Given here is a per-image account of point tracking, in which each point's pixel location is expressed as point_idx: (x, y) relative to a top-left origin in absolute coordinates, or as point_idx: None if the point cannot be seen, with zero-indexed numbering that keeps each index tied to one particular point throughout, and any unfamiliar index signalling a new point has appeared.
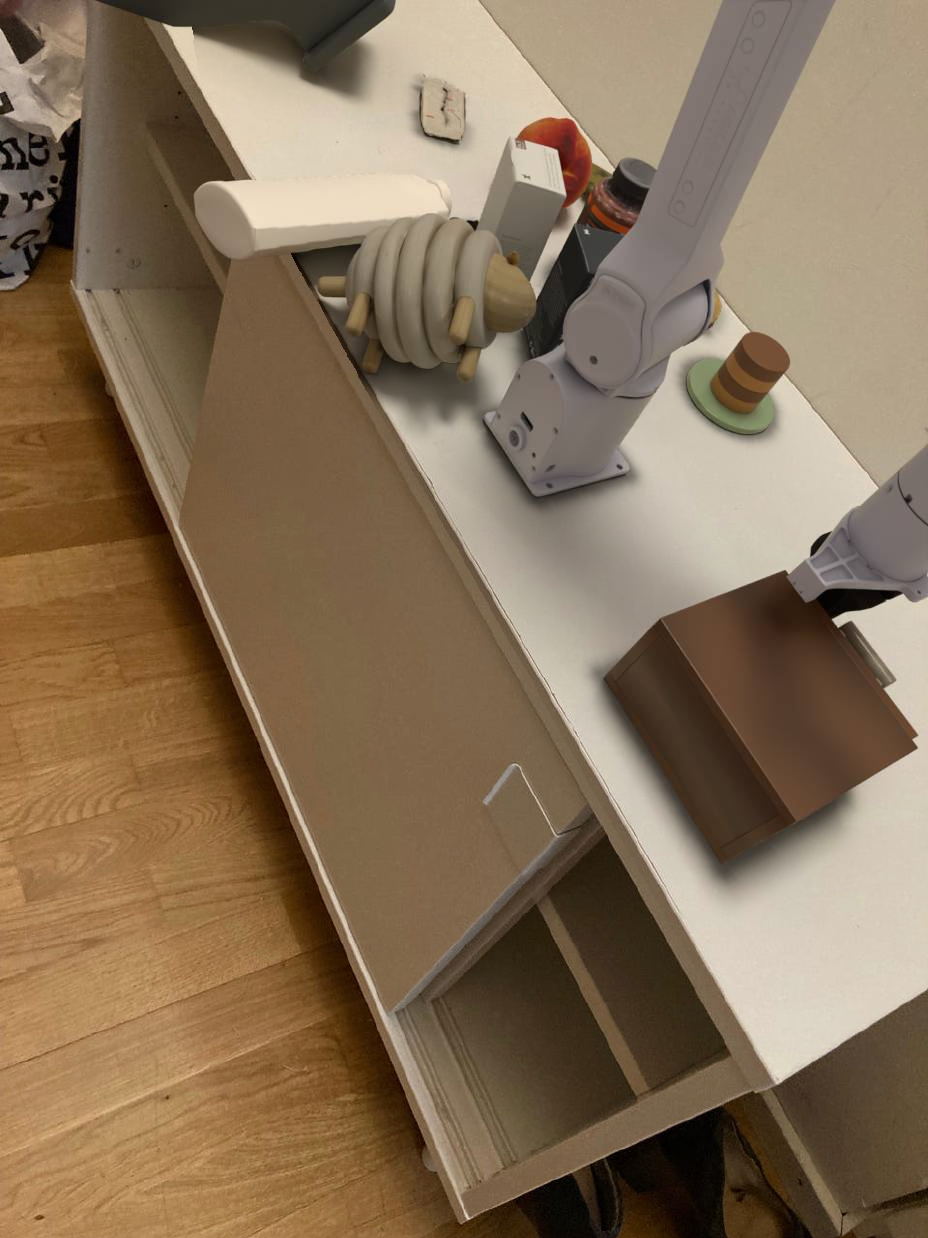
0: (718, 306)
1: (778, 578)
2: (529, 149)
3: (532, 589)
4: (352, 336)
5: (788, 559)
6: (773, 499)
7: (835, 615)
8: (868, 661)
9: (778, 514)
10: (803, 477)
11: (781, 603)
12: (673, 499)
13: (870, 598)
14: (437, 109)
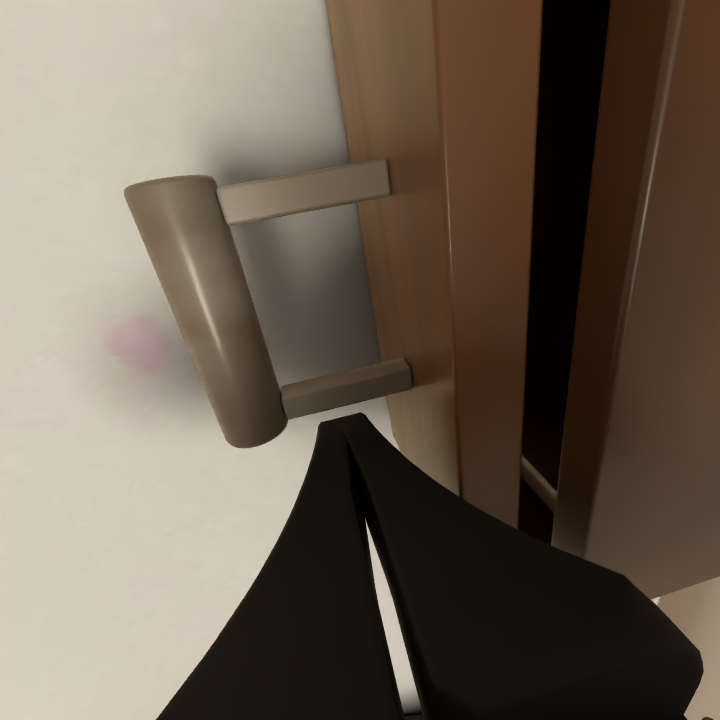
0: None
1: None
2: None
3: None
4: (710, 718)
5: (200, 543)
6: (176, 636)
7: (443, 486)
8: (241, 298)
9: (178, 614)
10: (77, 681)
11: (691, 530)
12: (381, 607)
13: (606, 698)
14: None
